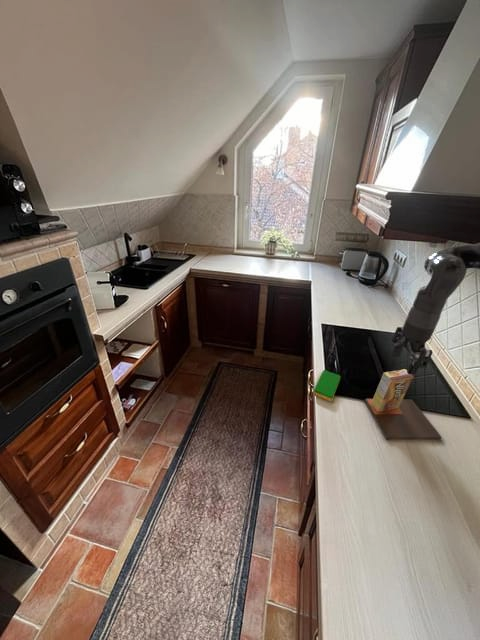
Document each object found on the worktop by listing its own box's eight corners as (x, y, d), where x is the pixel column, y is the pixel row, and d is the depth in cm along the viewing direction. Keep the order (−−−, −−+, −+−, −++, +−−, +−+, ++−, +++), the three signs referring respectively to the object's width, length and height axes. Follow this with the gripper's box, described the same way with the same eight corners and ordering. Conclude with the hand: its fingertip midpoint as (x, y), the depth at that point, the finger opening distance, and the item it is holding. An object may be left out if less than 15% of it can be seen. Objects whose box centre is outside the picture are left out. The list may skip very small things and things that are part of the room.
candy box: (390, 399, 95) (404, 368, 87) (399, 408, 91) (414, 376, 83) (370, 403, 93) (382, 371, 85) (378, 413, 89) (392, 380, 81)
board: (410, 401, 96) (412, 398, 95) (440, 439, 82) (442, 437, 81) (364, 400, 95) (364, 398, 95) (386, 439, 81) (387, 437, 81)
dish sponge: (339, 380, 105) (341, 375, 103) (331, 402, 94) (332, 397, 93) (322, 373, 108) (323, 369, 107) (312, 394, 97) (313, 389, 96)
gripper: (451, 335, 68) (428, 380, 76) (418, 310, 80) (401, 351, 88) (424, 334, 68) (403, 380, 76) (395, 310, 80) (380, 351, 88)
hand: (402, 364), depth 82 cm, fingers open, 8 cm apart
